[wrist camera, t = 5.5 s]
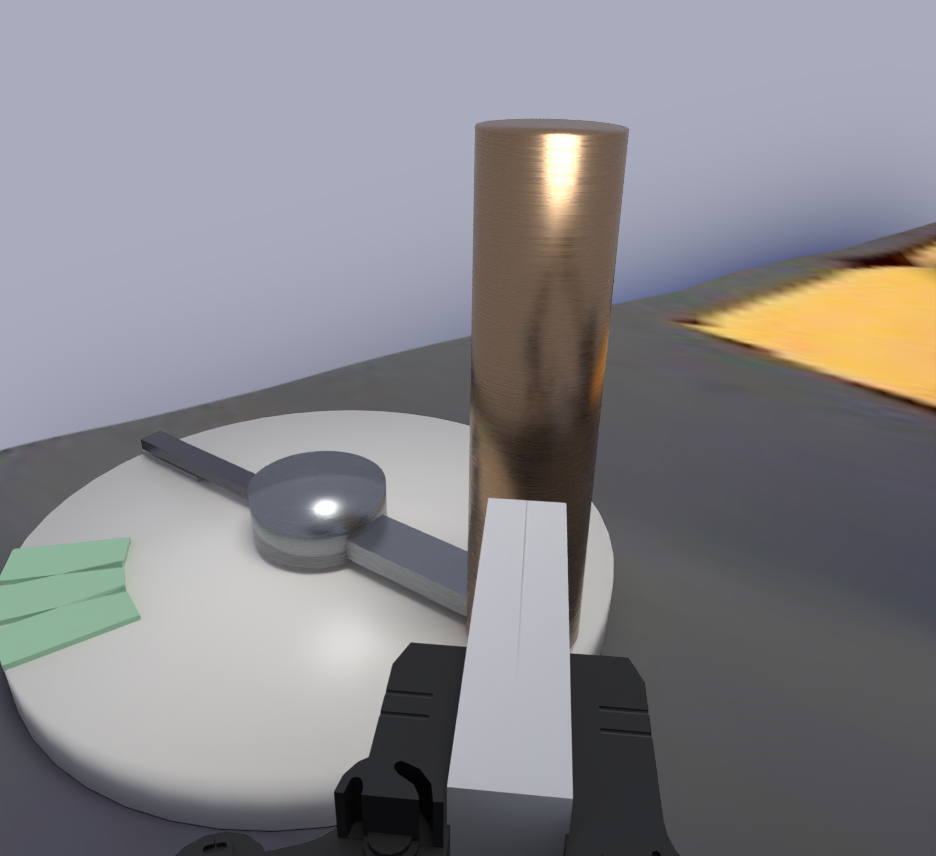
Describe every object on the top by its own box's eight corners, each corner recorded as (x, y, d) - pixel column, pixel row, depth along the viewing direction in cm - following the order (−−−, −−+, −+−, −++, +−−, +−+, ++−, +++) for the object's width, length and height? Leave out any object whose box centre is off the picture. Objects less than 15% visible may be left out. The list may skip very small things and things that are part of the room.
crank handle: (101, 471, 34) (16, 87, 27) (199, 428, 37) (145, 81, 31) (529, 695, 23) (565, 144, 16) (608, 604, 26) (665, 123, 20)
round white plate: (324, 408, 45) (321, 372, 44) (698, 544, 33) (707, 500, 32) (-110, 615, 29) (-129, 566, 28) (327, 1010, 17) (321, 952, 16)
